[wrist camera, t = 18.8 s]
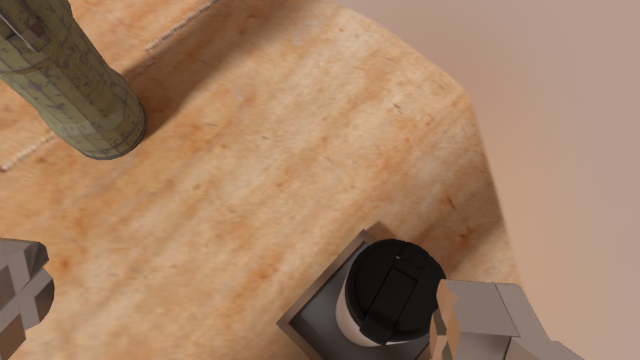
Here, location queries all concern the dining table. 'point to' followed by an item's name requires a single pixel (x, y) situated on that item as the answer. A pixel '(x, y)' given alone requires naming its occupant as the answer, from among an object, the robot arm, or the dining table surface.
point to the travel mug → (389, 294)
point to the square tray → (320, 320)
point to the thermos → (68, 79)
